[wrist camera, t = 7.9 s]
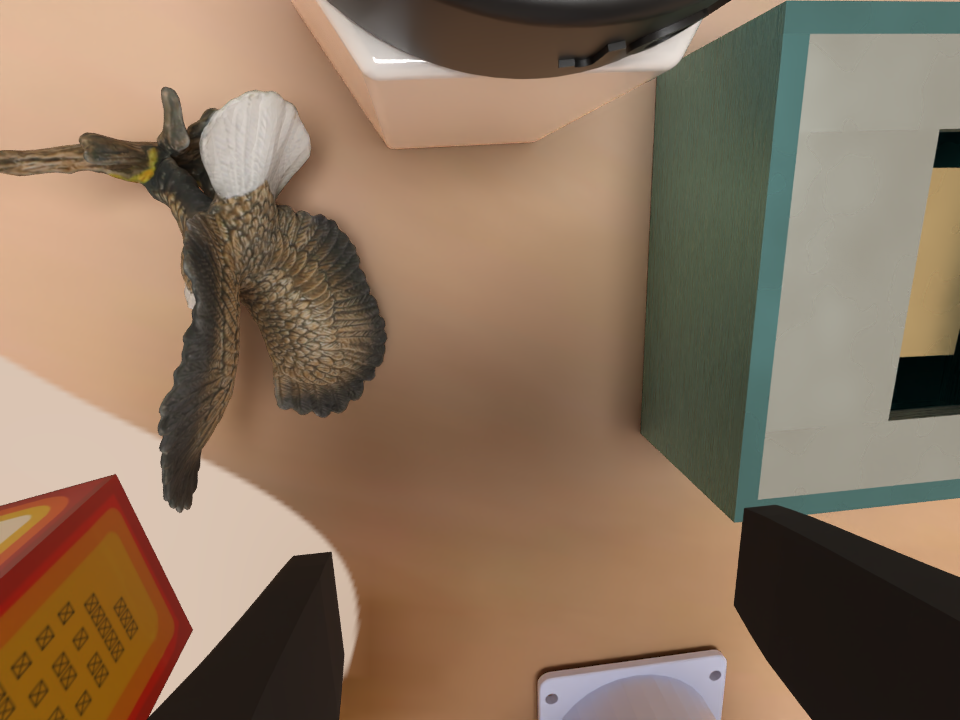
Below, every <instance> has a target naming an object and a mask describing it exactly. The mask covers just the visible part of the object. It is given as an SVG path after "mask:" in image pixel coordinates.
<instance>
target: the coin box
mask: <svg viewBox="0 0 960 720" xmlns="http://www.w3.org/2000/svg"><path fill="white" fill-rule="evenodd" d="M933 168H960V2H907V1H785V2H783V3H782V4H780V5H778V6H776V7H774V8H773V9H771V10H769V11H767V12H765V13H763V14H762V15H760V16H758V17H756V18H754V19H753V20H751V21H749V22H747V23H745V24H744V25H742V26H740V27H738V28H736V29H734V30H733V31H731V32H729V33H727V34H725V35H724V36H722V37H720V38H718V39H716V40H715V41H713V42H711V43H709V44H707V45H705V46H704V47H702V48H700V49H698V50H696V51H695V52H693V53H691V54H689V55H687V56H686V57H684V58H682V59H681V60H680V62H679V63H678V64H677V65H676V66H675V67H674V68H672V69H671V70H669V71H667V72H665V73H663V74H661V75H659V76H657V87H656V109H655V131H654V152H653V174H652V195H651V217H650V239H649V260H648V282H647V303H646V325H645V347H644V368H643V390H642V412H641V434H642V435H643V436H644V437H645V438H646V439H647V440H648V441H649V442H650V443H651V444H652V445H653V446H654V447H656V448H657V449H658V450H659V451H660V452H661V453H662V454H663V455H664V456H665V457H666V458H667V459H668V460H669V461H670V462H671V463H672V464H673V465H674V466H675V467H676V468H678V469H679V470H680V471H681V472H682V473H683V474H684V475H685V476H686V477H687V478H688V479H689V480H690V481H691V482H692V483H693V484H694V485H695V486H696V487H697V488H698V489H700V490H701V491H702V492H703V493H704V494H705V495H706V496H707V497H708V498H709V499H710V500H711V501H712V502H713V503H714V504H715V505H716V506H717V507H718V508H719V509H720V510H722V511H723V512H724V513H725V514H726V515H727V516H728V517H729V518H730V519H731V520H732V521H733V522H743V513H744V508H748V507H758V506H767V505H779V506H782V507H785V508H788V509H791V510H794V511H797V512H800V513H803V514H805V515H808V514H817V513H826V512H835V511H844V510H853V509H862V508H872V507H881V506H890V505H899V504H908V503H917V502H927V501H936V500H945V499H954V498H960V329H959V334H958V338H957V342H956V347H955V351H954V355H934V356H913V357H900V351H901V346H902V340H903V334H904V329H905V323H906V317H907V312H908V306H909V300H910V295H911V289H912V283H913V278H914V272H915V266H916V261H917V255H918V249H919V244H920V238H921V232H922V227H923V221H924V215H925V210H926V204H927V198H928V193H929V187H930V181H931V176H932V170H933Z"/></svg>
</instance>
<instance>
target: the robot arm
mask: <svg viewBox="0 0 960 720" xmlns="http://www.w3.org/2000/svg"><path fill="white" fill-rule="evenodd" d="M734 606H735V608H736V610H737V612H738V613H739V615H740V617H741V619H742V620H743V622H744V624H745V626H746V627H747V629H748V631H749V633H750V634H751V636H752V638H753V639H754V641H755V642H756V644H757V646H758V647H759V649H760V650H761V652H762V654H763V655H764V657H765V658H766V660H767V661H768V663H769V664H770V665H771V667H772V668H773V669H774V671H775V672H776V673H777V675H778V676H779V677H780V679H781V680H782V681H783V683H784V684H785V685H786V687H787V688H788V689H789V690H790V692H791V693H792V694H793V696H794V697H795V698H796V700H797V701H798V702H799V704H800V705H801V706H802V707H803V709H804V710H805V711H806V713H807V714H808V715H809V716H810V718H811V719H812V720H960V577H958V576H955V575H953V574H950V573H947V572H945V571H942V570H940V569H937V568H935V567H932V566H930V565H927V564H925V563H923V562H920V561H918V560H915V559H913V558H910V557H908V556H905V555H903V554H901V553H898V552H896V551H893V550H891V549H888V548H886V547H884V546H881V545H879V544H876V543H874V542H872V541H869V540H867V539H865V538H862V537H860V536H857V535H855V534H852V533H850V532H848V531H845V530H843V529H840V528H838V527H836V526H833V525H831V524H828V523H826V522H823V521H821V520H818V519H816V518H813V517H811V516H808V515H805V514H803V513H800V512H797V511H794V510H791V509H788V508H785V507H782V506H779V505H767V506H758V507H748V508H744V513H743V522H742V532H741V541H740V551H739V560H738V570H737V579H736V589H735V598H734ZM343 666H344V648H343V641H342V632H341V624H340V616H339V609H338V600H337V592H336V585H335V576H334V568H333V560H332V552H325V553H316V554H307V555H298V556H293V557H292V558H291V559H290V560H289V561H288V562H287V564H286V565H285V566H284V567H283V568H282V569H281V570H280V572H279V573H278V574H277V575H276V576H275V578H274V579H273V580H272V581H271V582H270V584H269V585H268V586H267V587H266V589H265V590H264V591H263V592H262V593H261V594H260V596H259V597H258V598H257V599H256V600H255V602H254V603H253V604H252V605H251V606H250V608H249V609H248V610H247V611H246V612H245V614H244V615H243V616H242V617H241V618H240V619H239V621H238V622H237V623H236V624H235V625H234V626H233V627H232V628H231V630H230V631H229V632H228V633H227V634H226V636H225V637H224V638H223V639H222V640H221V641H220V642H219V643H218V645H217V646H216V647H215V648H214V649H213V650H212V651H211V652H210V654H209V655H208V656H207V657H206V658H205V659H204V660H203V661H202V662H201V664H199V666H198V667H197V668H196V669H195V670H194V671H193V672H192V673H191V674H190V675H189V676H188V677H187V678H186V679H185V680H184V681H183V682H182V683H181V684H180V686H178V688H177V689H176V690H175V691H174V692H173V693H172V694H171V695H170V696H169V697H168V698H167V699H166V700H165V701H164V702H163V703H162V704H161V705H160V706H159V707H158V709H156V711H154V712H153V713H152V715H151V716H149V717H148V718H147V719H146V720H339V715H340V704H341V692H342V680H343ZM726 668H727V660H726V659H725V657H724V656H723V654H722V653H721V652H720V651H718V650H706V651H699V652H692V653H685V654H677V655H670V656H663V657H655V658H648V659H641V660H633V661H626V662H619V663H612V664H604V665H597V666H590V667H582V668H575V669H568V670H560V671H553V672H548V673H545V674H543V675H542V676H541V677H540V678H539V680H538V720H721V715H722V706H723V696H724V687H725V677H726ZM550 694H553V695H551V696H548V695H550Z"/></svg>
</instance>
